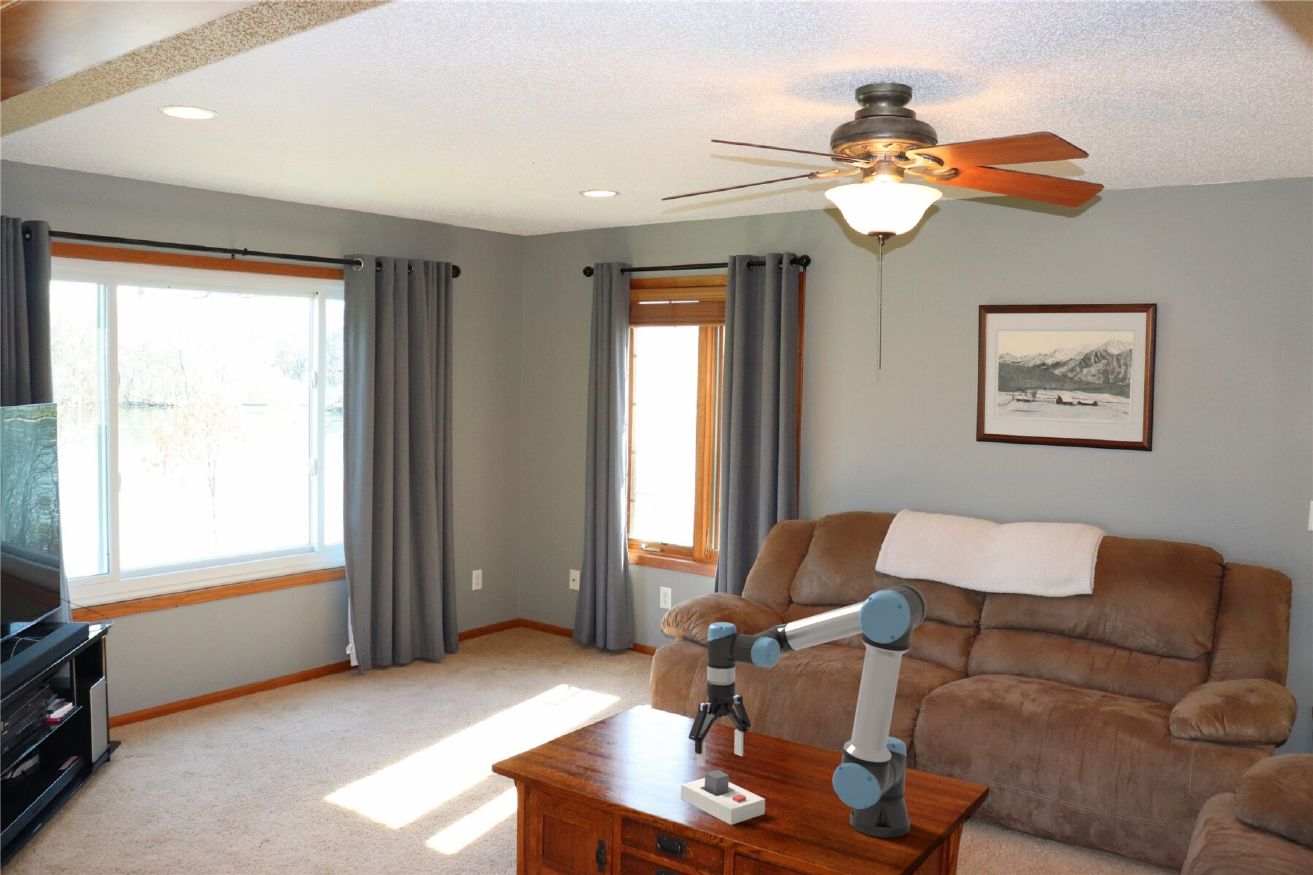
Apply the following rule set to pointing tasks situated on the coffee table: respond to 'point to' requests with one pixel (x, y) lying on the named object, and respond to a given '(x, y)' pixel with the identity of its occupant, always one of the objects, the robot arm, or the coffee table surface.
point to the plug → (716, 782)
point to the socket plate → (724, 802)
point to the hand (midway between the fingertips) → (720, 759)
